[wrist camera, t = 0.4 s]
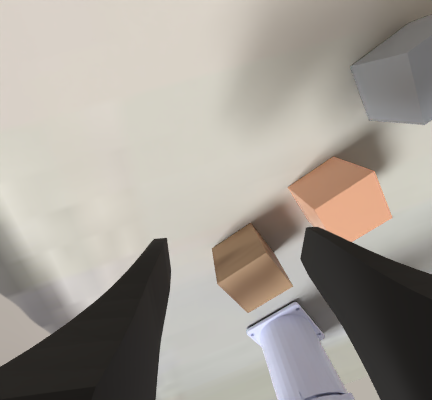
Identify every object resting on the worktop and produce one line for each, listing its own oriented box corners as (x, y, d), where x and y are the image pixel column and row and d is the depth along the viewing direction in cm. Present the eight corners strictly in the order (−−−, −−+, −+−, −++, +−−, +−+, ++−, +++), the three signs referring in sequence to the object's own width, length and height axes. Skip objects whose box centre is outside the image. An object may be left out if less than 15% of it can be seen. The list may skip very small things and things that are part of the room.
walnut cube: (273, 252, 24) (293, 286, 19) (237, 274, 25) (247, 313, 20) (250, 222, 22) (266, 252, 17) (211, 248, 23) (217, 283, 18)
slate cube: (421, 83, 18) (499, 75, 14) (368, 120, 19) (424, 124, 14) (408, 22, 16) (493, -10, 12) (349, 66, 17) (407, 52, 12)
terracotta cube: (350, 194, 22) (392, 217, 17) (308, 221, 23) (337, 250, 18) (332, 156, 20) (374, 170, 15) (287, 187, 21) (314, 209, 16)
